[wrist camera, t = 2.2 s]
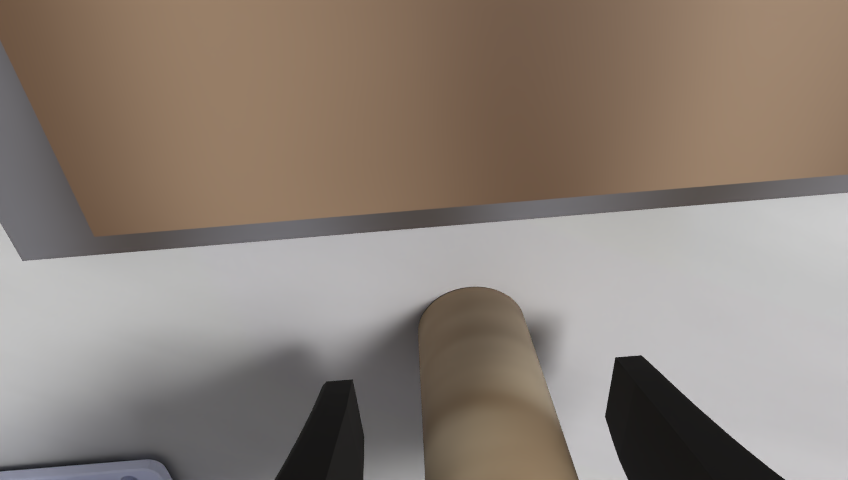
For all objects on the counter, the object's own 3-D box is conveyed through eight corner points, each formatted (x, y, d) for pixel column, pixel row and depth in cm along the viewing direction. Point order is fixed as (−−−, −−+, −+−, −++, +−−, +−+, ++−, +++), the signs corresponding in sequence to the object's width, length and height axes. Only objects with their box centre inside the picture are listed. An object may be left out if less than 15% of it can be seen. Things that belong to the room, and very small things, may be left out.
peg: (421, 373, 15) (441, 750, 8) (413, 292, 13) (429, 672, 6) (523, 364, 15) (632, 734, 8) (526, 282, 13) (666, 652, 6)
